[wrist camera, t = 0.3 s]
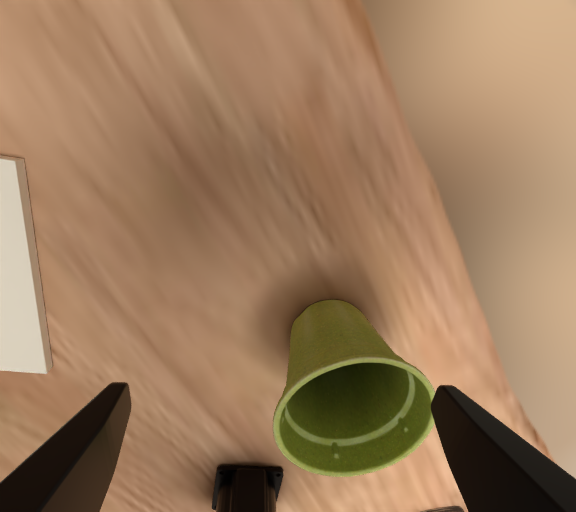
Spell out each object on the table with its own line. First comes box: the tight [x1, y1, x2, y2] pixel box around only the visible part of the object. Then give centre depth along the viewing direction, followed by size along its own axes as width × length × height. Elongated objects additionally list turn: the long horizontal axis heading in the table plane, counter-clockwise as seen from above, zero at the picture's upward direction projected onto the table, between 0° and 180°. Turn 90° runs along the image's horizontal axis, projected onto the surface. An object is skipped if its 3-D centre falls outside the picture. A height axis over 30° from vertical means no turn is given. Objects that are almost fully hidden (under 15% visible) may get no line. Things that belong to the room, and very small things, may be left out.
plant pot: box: [273, 300, 435, 477], centre depth 23 cm, size 9×9×9 cm
